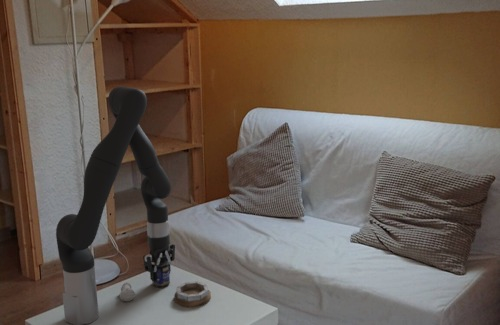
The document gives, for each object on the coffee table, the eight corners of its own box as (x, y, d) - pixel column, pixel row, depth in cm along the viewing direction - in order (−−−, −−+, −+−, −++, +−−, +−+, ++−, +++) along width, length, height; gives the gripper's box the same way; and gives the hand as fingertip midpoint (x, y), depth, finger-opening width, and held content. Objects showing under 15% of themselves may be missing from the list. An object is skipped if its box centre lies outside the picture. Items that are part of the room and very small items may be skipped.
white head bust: (133, 305, 174) (117, 302, 173) (134, 294, 182) (119, 291, 181) (136, 294, 173) (121, 291, 172) (137, 282, 181) (122, 279, 180)
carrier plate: (195, 310, 168) (195, 300, 167) (167, 301, 175) (166, 291, 174) (217, 295, 178) (217, 286, 177) (190, 286, 184) (189, 277, 184)
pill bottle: (166, 288, 183) (164, 259, 180) (149, 287, 184) (148, 258, 182) (172, 280, 189) (170, 252, 186) (156, 279, 190) (154, 251, 187)
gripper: (164, 224, 190) (166, 267, 194) (135, 237, 178) (138, 282, 182) (180, 228, 186) (182, 272, 190) (151, 241, 174) (154, 288, 178)
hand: (160, 277), depth 186 cm, fingers closed on pill bottle, 6 cm apart
